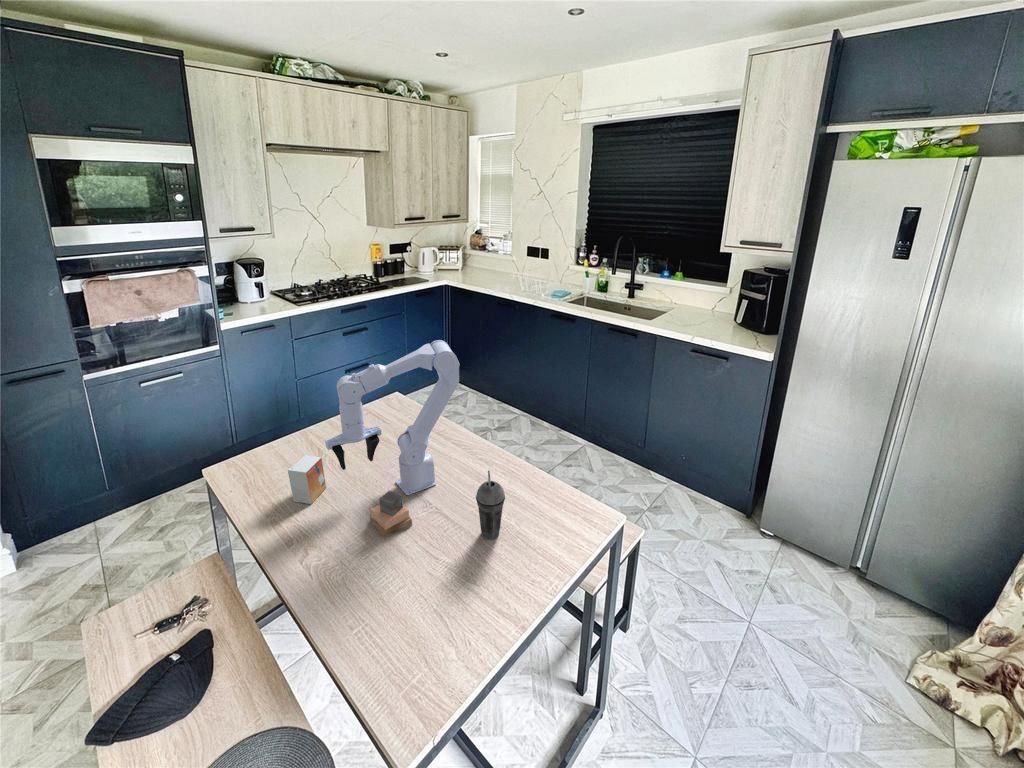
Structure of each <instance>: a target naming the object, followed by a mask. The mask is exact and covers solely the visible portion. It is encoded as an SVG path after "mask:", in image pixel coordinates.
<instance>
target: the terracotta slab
mask: <svg viewBox="0 0 1024 768" xmlns="http://www.w3.org/2000/svg"><path fill="white" fill-rule="evenodd" d="M409 511H410V510H409V509H408V508H407V507H406V506H405V505H403V508H402V509H401V510H400V511H399V512H397V513H396V514H395V515H394V516H390V515H388V514H385V513H383V512H381V511H380V504H378V505H375V506H373V507H371V508H370V514H371V517H372V518H373V519H374V520H375V521H376V522H377V523H379V524H380V525H381V526H382V527H383V528H384V529H385V530H387V529H389V528H391V527H393V526H394V525H396V524H398V523H400V522H402V521H404V520H406V519H408V518H409V517H410V513H409Z"/></svg>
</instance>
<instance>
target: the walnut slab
mask: <svg viewBox="0 0 1024 768" xmlns="http://www.w3.org/2000/svg"><path fill="white" fill-rule="evenodd" d="M369 518H370V521H371V523H372V524H373V525H374V527H375V529H376V530H377V532H379V534H380V536H382V538H383V539H385V538H386V537H389V536H390V535H394V534H395V533H398V532H400V531H402V530H405V529H407V528H410V527H412V526H413V520H412V517H410V516H409V518H408V519H406V520H404V521H402V522H400V523H398V524H396V525H394V526H393V527H391V528H389V529H387V530H385V529H384V528H383V527H382V526H381V525H380V524H379V523H377V522H376V521H375V520H374V519H373V518H372V517H371V513H370V515H369Z"/></svg>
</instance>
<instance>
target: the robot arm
mask: <svg viewBox="0 0 1024 768" xmlns="http://www.w3.org/2000/svg"><path fill="white" fill-rule="evenodd" d="M433 367H434V370H436V372H437V375H438V380H437V381H436V383H435V385H434V386H433V388H432V390H431V393H429V395H428V398H426V401H425V402H424V404H423V406H422V408H421V410H420V412H419V413H418V415H417V417H416V419H415V421H414V422H413V424H411V425H408V426H407V428H406V429H405V431H403V432H401V434H400V435H399V436H398V438H397V441H396V442H397V446H398V447H399V451H400V454H399V456H398V463H399V476H400V477H399V479H397V480H395V483H396V485H397V486H398V487H399V488H400V489H401V491H402V492H403V493H404V494H405V496H410V495H413V494H415V493H417V492H421V491H423V490H426V489H428V488H431V487H433V486H437V482H436V478H435V477H436V476H435V464H434V459H433V458H432V456H431V454H430V452H426V451H427V448H428V446H429V437H430V434H431V432H432V431H433V428H434V427H435V425H436V424H437V422H438V421H439V418H440V416H441V415H442V413H443V411H444V410H445V408H446V406H447V404H448V403H449V401H450V399H451V397H452V396H453V394H454V392H455V390H456V388H457V387H458V385H459V383H460V362H459V360H458V357H457V355H456V354H455V352H453V351H452V349H451V347H450V345H449V344H448V343H447V342H446V341H444V340H442V339H438V340H436V339H435V340H433V341H432V342H431V343H426V344H423V345H422V346H420V347H419V348H418V349H415V350H414V351H412V352H410V353H408V354H406V355H404V356H402V357H400V358H399V359H396V360H394V361H392V362H390V363H388V364H387V365H383V364H380V363H377V364H374V363H371V364H370V365H368V368H366V369H364V370H360V371H359V372H357V373H356V372H352V373H351V374H350V375H349V374H347V375H343V376H341V377H340V378H339V380H337V383H336V386H335V387H336V390H337V397H338V403H339V405H338V408H339V409H338V410H339V417H340V425H341V426H340V427H341V433H340V434H338V435H336V436H334V437H332V438H329V439H326V440H325V448H326V449H327V450H328V451H330V450H331V451H332V452H333V453H334V455H335V457H336V458H337V460H338V463H339V466H340V468H341V469H342V471H344V470H346V462H345V450H344V449H343V445H346V444H354V443H355V444H356V443H359V442H362V441H364V440H365V443H366V444H365V445H366V453H367V455H366V456H367V459H368V460H369V462H373V461H374V455H375V452H376V449H377V447H378V445H379V443H380V438H379V436H382V434H383V433H382V429H381V428H380V426H378V425H377V426H372V427H365V420H364V409H363V403H362V401H361V399H362V397H363V396H364V395H366V394H368V393H372V392H373V391H375V390H377V389H379V388H382V387H384V386H386V385H388V384H389V382H390V380H391V378H393V377H397V376H400V375H402V374H404V373H407V372H409V371H413V370H414V369H417V368H421V369H425V370H429V371H433Z"/></svg>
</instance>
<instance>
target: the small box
mask: <svg viewBox="0 0 1024 768" xmlns="http://www.w3.org/2000/svg"><path fill="white" fill-rule="evenodd" d="M323 464H324V463H323V458H322V457H321V456H314V455H306V454H304V455H303V456H302V457H301V458H300V459H299V460H298V461H297V462H295V463H294V464H293V465H292V466H291V467H290V468H289V469H287V472H288V473H287V475H288V479H289V484H290V488H291V489H290V490H291V496H292V500H293V502H295V503H301V504H302V503H303V504H308V505H312V504H313V503H314V502H315V501H316V500H317V498H318V497H320V495H321V494H322V493H323V492H324V491H325V490H326V489H327V484H326V483H327V482H326V478H325V476H326V475H325V472H324V471H325V470H324V465H323Z"/></svg>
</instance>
